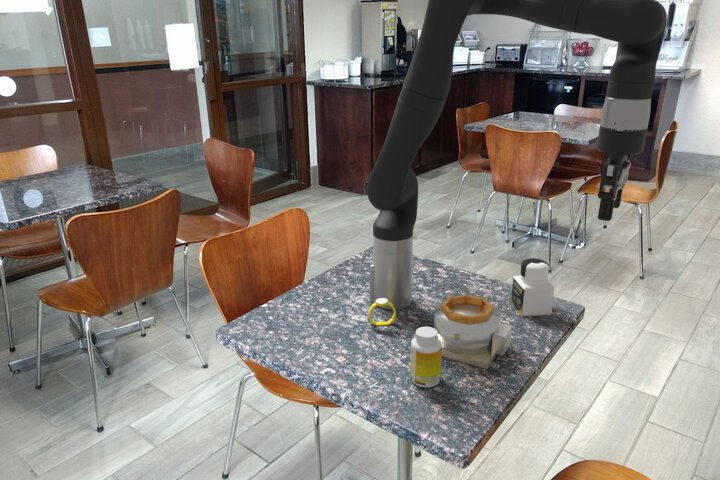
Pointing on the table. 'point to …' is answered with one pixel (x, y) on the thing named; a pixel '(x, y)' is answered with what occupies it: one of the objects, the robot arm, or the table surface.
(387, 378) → the table surface
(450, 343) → the octagonal rim cylinder base
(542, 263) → the medicine bottle
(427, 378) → the supplement bottle
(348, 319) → the table surface
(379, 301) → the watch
